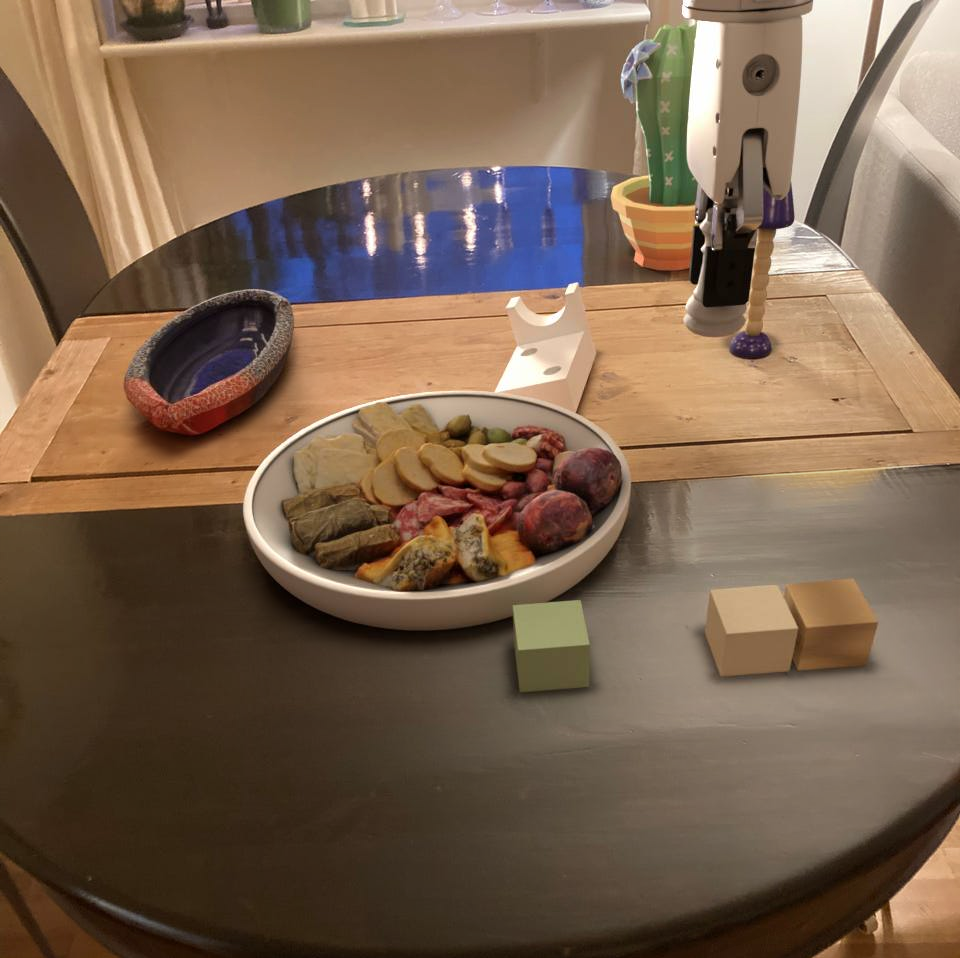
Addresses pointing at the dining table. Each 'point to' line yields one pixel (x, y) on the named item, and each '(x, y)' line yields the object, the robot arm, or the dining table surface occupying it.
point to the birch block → (830, 624)
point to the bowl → (438, 508)
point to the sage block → (551, 646)
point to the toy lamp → (762, 276)
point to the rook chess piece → (712, 318)
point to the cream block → (750, 630)
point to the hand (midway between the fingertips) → (717, 290)
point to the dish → (211, 361)
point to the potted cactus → (661, 151)
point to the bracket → (550, 352)
